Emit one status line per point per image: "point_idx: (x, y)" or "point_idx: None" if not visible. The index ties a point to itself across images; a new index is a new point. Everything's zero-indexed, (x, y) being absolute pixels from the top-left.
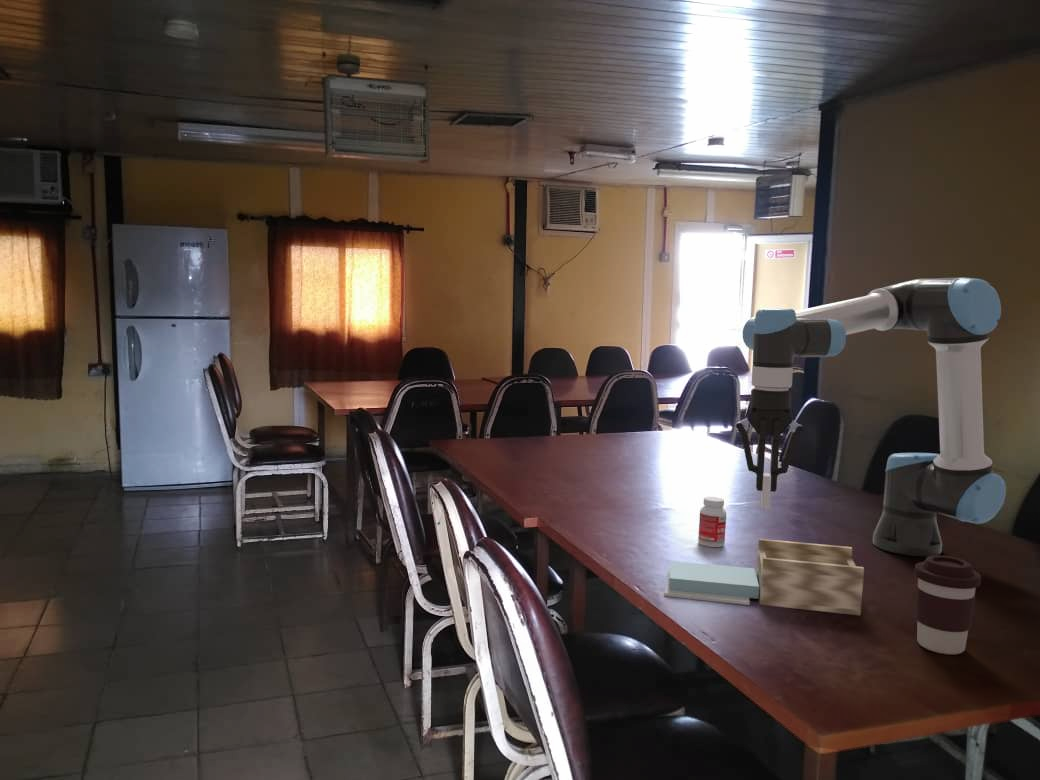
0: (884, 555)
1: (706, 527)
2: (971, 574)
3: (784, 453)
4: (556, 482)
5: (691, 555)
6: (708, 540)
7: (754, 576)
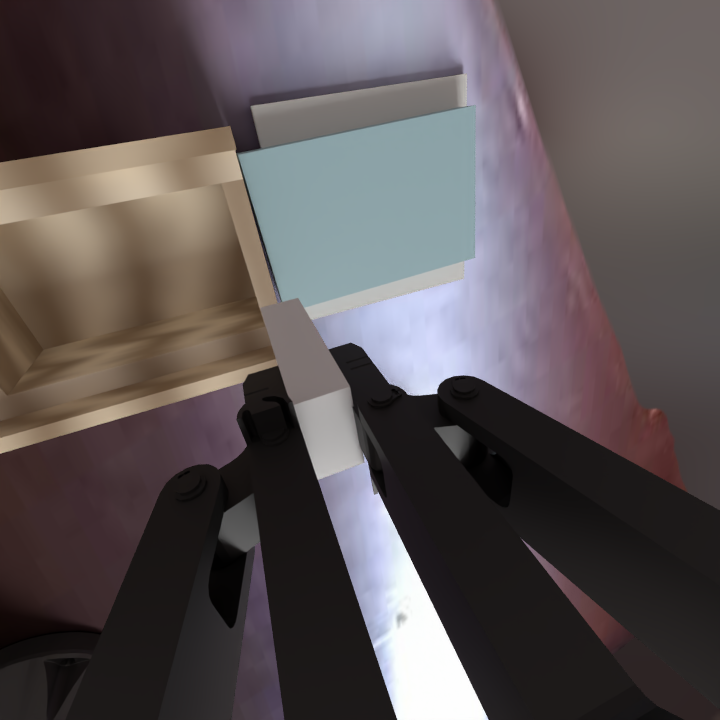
0: (74, 611)
1: None
2: None
3: (227, 707)
4: None
5: (423, 390)
6: None
7: (271, 246)
